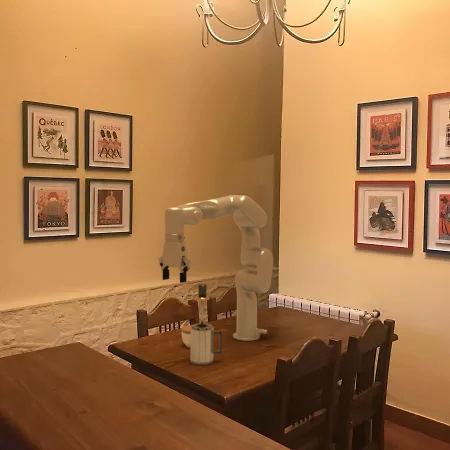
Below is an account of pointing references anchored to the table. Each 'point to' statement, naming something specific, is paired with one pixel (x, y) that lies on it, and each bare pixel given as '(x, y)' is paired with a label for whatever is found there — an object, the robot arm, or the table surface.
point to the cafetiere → (203, 344)
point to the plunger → (202, 298)
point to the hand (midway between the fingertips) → (174, 280)
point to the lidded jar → (186, 335)
